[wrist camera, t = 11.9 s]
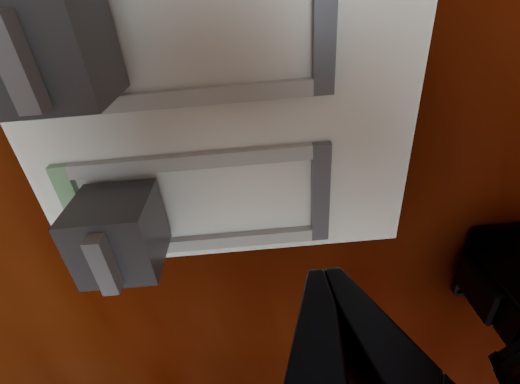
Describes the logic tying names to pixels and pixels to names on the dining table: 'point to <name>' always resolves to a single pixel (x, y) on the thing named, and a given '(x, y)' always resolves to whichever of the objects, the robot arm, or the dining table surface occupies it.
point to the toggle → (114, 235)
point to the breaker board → (250, 120)
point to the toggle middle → (58, 59)
